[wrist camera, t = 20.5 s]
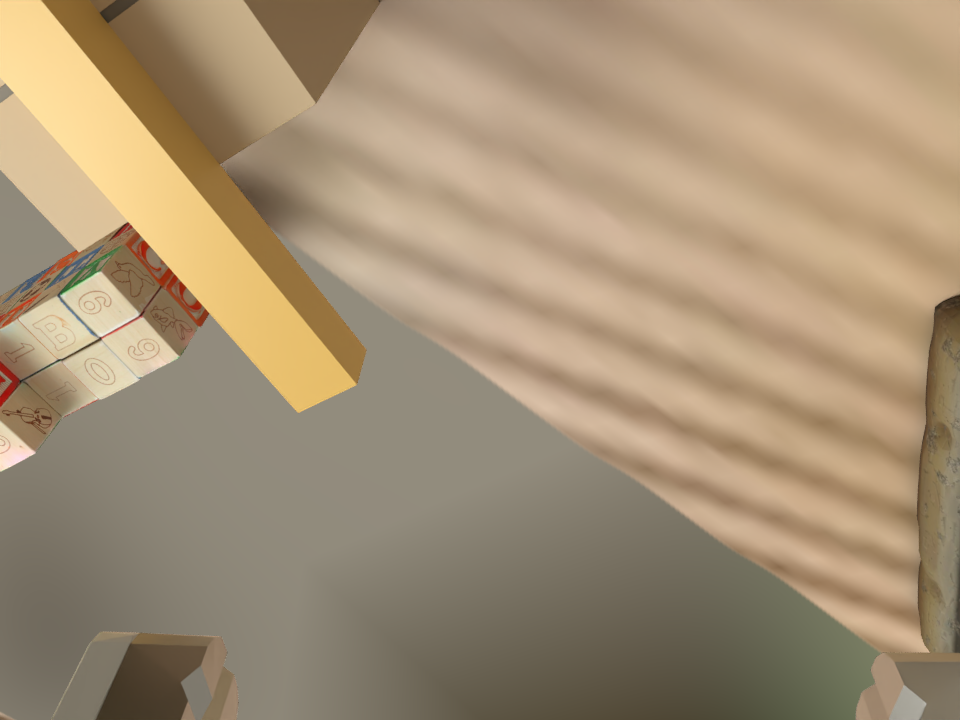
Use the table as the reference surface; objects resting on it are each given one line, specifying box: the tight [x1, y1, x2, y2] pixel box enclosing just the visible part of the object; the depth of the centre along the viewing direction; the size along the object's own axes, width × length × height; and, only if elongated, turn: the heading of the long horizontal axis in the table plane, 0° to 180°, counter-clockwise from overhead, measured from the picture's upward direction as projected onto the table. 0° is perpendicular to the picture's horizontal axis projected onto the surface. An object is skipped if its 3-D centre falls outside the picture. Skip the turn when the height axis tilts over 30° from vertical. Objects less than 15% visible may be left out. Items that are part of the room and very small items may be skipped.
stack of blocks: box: [0, 222, 209, 471], centre depth 50 cm, size 21×6×12 cm, turn 120°
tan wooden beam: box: [0, 0, 366, 413], centre depth 29 cm, size 26×3×2 cm, turn 31°
